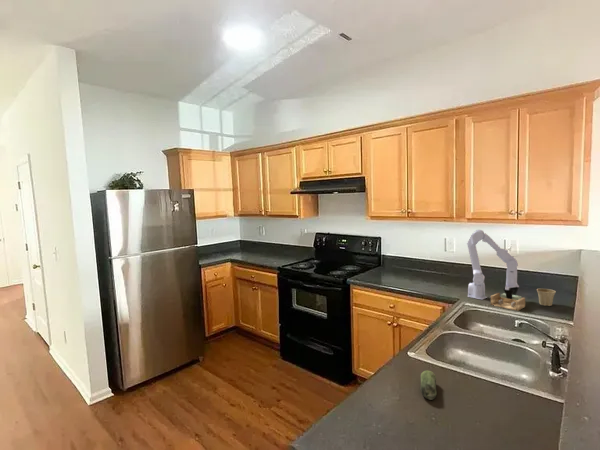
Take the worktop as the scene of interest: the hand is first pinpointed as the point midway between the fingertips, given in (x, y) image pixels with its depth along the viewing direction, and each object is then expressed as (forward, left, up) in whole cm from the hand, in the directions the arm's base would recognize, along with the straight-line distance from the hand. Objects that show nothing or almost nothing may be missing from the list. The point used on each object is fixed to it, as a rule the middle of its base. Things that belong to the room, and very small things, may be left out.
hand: (511, 299), depth 212 cm
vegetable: (+19, -129, -2) cm, 130 cm away
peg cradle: (+2, -12, -1) cm, 12 cm away
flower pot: (+16, +8, -2) cm, 18 cm away
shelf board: (0, 0, -2) cm, 2 cm away
